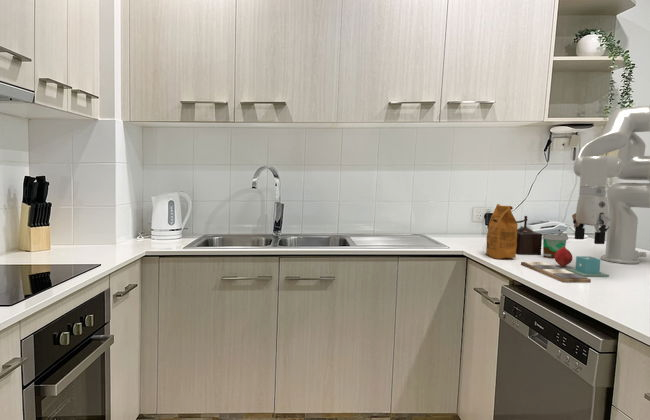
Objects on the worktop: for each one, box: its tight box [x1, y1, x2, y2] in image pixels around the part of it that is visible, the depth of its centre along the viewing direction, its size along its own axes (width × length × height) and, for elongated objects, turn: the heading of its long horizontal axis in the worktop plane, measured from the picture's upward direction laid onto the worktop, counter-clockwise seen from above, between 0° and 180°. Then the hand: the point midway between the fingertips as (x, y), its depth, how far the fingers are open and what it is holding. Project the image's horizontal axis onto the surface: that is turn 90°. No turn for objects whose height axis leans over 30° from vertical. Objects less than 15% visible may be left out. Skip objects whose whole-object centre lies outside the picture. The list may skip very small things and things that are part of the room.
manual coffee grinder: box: [516, 215, 543, 256], centre depth 173 cm, size 16×11×18 cm
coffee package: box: [485, 203, 519, 260], centre depth 162 cm, size 10×12×22 cm
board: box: [520, 261, 592, 283], centre depth 137 cm, size 9×25×1 cm, turn 2°
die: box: [574, 255, 601, 274], centre depth 136 cm, size 5×5×5 cm
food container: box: [542, 231, 569, 260], centre depth 163 cm, size 12×6×10 cm, turn 117°
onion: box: [554, 246, 573, 268], centre depth 146 cm, size 6×6×8 cm
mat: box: [565, 268, 610, 278], centre depth 136 cm, size 9×9×1 cm
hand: (588, 241), depth 135 cm, fingers open, 9 cm apart
